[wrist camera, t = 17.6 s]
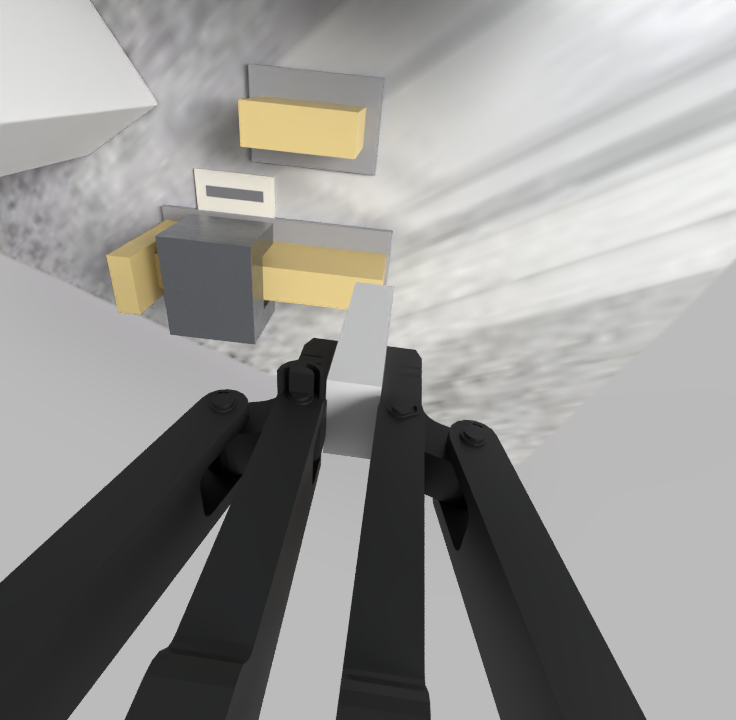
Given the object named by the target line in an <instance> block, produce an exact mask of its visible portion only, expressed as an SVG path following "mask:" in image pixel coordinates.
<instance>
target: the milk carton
mask: <svg viewBox="0 0 736 720" xmlns="http://www.w3.org/2000/svg"><path fill="white" fill-rule="evenodd" d="M155 106H157V102H156V100H155V98H154V97H153V95H152V94H151V92H150V91H149V89H148V88H147V86H146V85H145V83H144V81H143V80H142V78H141V77H140V75H139V74H138V72H137V71H136V69H135V68H134V66H133V65H132V63H131V62H130V60H129V59H128V57H127V56H126V54H125V53H124V51H123V50H122V48H121V47H120V45H119V44H118V42H117V41H116V39H115V38H114V36H113V35H112V33H111V32H110V30H109V29H108V27H107V26H106V24H105V23H104V21H103V20H102V18H101V17H100V15H99V14H98V12H97V11H96V9H95V8H94V6H93V5H92V3H91V2H90V0H0V177H1V176H6V175H10V174H14V173H18V172H22V171H26V170H30V169H34V168H38V167H42V166H46V165H50V164H54V163H58V162H63V161H67V160H71V159H75V158H79V157H83V156H87V155H90V154H91V153H92V152H94V151H95V150H96V149H98V148H99V147H101V146H102V145H103V144H105V143H106V142H107V141H109V140H110V139H112V138H113V137H114V136H116V135H117V134H118V133H120V132H121V131H122V130H124V129H125V128H127V127H128V126H129V125H131V124H132V123H133V122H135V121H136V120H138V119H139V118H140V117H142V116H143V115H144V114H146V113H147V112H149V111H150V110H151V109H153V108H154V107H155Z"/></svg>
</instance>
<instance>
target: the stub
mask: <svg viewBox="0 0 736 720" xmlns="http://www.w3.org/2000/svg"><path fill="white" fill-rule="evenodd" d="M248 74H249V98H246V99H239V100H238V108H239V129H240V147H248V148H251V152H252V162H261V163H270V164H279V165H288V166H297V167H306V168H315V169H324V170H333V171H342V172H351V173H360V174H369V175H375V172H376V161H377V150H378V140H379V129H380V118H381V107H382V97H383V86H384V78H375V77H366V76H356V75H347V74H338V73H328V72H319V71H310V70H300V69H291V68H281V67H272V66H263V65H253V64H248Z"/></svg>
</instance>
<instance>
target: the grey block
mask: <svg viewBox="0 0 736 720" xmlns="http://www.w3.org/2000/svg"><path fill="white" fill-rule="evenodd" d="M155 237H156V244H157V250H158V257H159V263H160V270H161V276H162V283H163V289H164V296H165V302H166V309H167V315H168V322H169V329H170V334H171V335H179V336H188V337H196V338H205V339H213V340H222V341H230V342H239V343H247V344H255V343H256V342H257V340H258V338H259V337H260V335H261V333H262V331H263V330H264V328H265V326H266V325H267V323H268V321H269V319H270V318H271V316H272V314H273V313H274V311H275V303H274V301H271V300H264V296H263V264H262V256H263V255H264V254H265V253H266V252H267V250H268V249H269V248H270V247H271V246H272V244H273V223H269V222H260V221H251V220H242V219H234V218H225V217H216V216H207V215H198V214H190V215H188V216H187V217H185V218H183V219H182V220H180V221H179V222H177V223H175V224H174V225H172V226H170V227H169V228H167V229H166V230H164V231H162V232H161V233H159V234H158V235H156V236H155Z"/></svg>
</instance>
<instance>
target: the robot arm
mask: <svg viewBox="0 0 736 720" xmlns="http://www.w3.org/2000/svg"><path fill="white" fill-rule="evenodd" d="M393 293H394V286H386V285H378V284H370V283H361V282H356V283H355V286H354V290H353V293H352V297H351V300H350V303H349V307H348V310H347V313H346V317H345V320H344V323H343V327H342V330H341V334H340V337H339V340H338V341H334V340H326V339H319V338H313V339H312V340H310V341H309V342H308V343H306V344H305V345H304V347H303V350H302V352H301V355H300V357H299V359H298V360H294V361H290V362H287V363H285V364H283V365H281V366H280V367H279V369H278V370H277V387H278V394H277V397H276V398H274V399H271V400H267V401H261V402H250V403H248V399H247V398H246V396H245V395H244V394H242V393H240V392H238V391H235V390H229V389H226V390H217V391H214V392H211V393H209V394H207V395H206V396H204V397H203V398H202V399H200V400H199V401H198V402H197V403H196V404H195V405H194V406H193V407H192V408H191V409H189V410H188V411H187V412H186V413H185V414H184V415H183V416H182V417H181V418H180V419H179V420H178V421H176V423H174V424H173V425H172V426H171V427H170V428H169V429H168V430H167V431H165V432H164V433H163V434H162V435H161V436H160V437H159V438H158V439H157V440H156V441H155V442H153V443H152V444H151V445H150V446H149V447H148V448H147V449H146V450H145V451H144V452H143V453H141V454H140V455H139V456H138V457H137V458H136V459H135V460H134V461H133V462H132V463H131V464H130V465H128V466H127V467H126V468H125V469H124V470H123V471H122V472H121V473H120V474H119V475H118V476H116V477H115V478H114V479H113V480H112V481H111V482H110V483H109V484H108V485H107V486H105V487H104V488H103V489H102V490H101V491H100V492H99V493H98V494H97V495H96V496H95V497H93V498H92V499H91V500H90V501H89V502H88V503H87V504H86V505H85V506H84V507H83V508H81V509H80V510H79V511H78V512H77V513H76V514H75V515H74V516H73V517H72V518H71V519H69V520H68V521H67V522H66V523H65V524H64V525H63V526H62V527H61V528H60V529H59V530H57V531H56V532H55V533H54V534H53V535H52V536H51V537H50V538H49V539H48V540H47V541H45V542H44V543H43V544H42V545H41V546H40V547H39V548H38V549H37V550H36V551H35V552H34V553H32V554H31V555H30V556H29V557H28V558H27V559H26V560H25V561H24V562H23V563H21V564H20V565H19V566H18V567H17V568H16V569H15V570H14V571H13V572H12V573H10V574H9V575H8V576H7V577H6V578H5V579H4V580H3V581H2V582H1V583H0V720H67V719H68V718H69V716H70V715H71V714H72V712H73V711H74V710H75V709H76V707H77V706H78V705H79V703H80V702H81V701H82V699H83V698H84V697H85V695H86V694H87V693H88V692H89V690H90V689H91V688H92V686H93V685H94V684H95V682H96V681H97V679H98V678H99V677H100V676H101V674H102V673H103V671H104V670H105V669H106V668H107V666H108V665H109V664H110V662H111V661H112V660H113V658H114V657H115V656H116V655H117V653H118V652H119V650H120V649H121V648H122V647H123V645H124V644H125V643H126V641H127V640H128V639H129V637H130V636H131V635H132V633H133V632H134V631H135V629H136V628H137V627H138V625H139V624H140V623H141V622H142V620H143V619H144V617H145V616H146V615H147V614H148V612H149V611H150V610H151V608H152V607H153V605H154V604H155V603H156V602H157V600H158V599H159V598H160V596H161V595H162V594H163V592H164V591H165V590H166V589H167V587H168V586H169V585H170V583H171V582H172V581H173V579H174V578H175V577H176V575H177V574H178V573H179V571H180V570H181V569H182V567H183V566H184V565H185V563H186V562H187V561H188V559H189V558H190V557H191V555H192V554H193V553H194V552H195V550H196V549H197V548H198V546H199V545H200V544H201V542H202V541H203V540H204V538H205V537H206V536H207V534H208V533H209V532H210V530H211V529H212V528H213V526H214V525H215V524H216V522H217V521H218V520H219V519H220V517H221V516H222V514H223V513H224V512H225V511H226V509H227V508H228V507H229V505H230V504H231V505H230V507H229V510H228V512H227V514H226V517H225V519H224V521H223V524H222V526H221V528H220V531H219V533H218V535H217V538H216V540H215V542H214V545H213V547H212V550H211V552H210V554H209V557H208V559H207V561H206V564H205V566H204V568H203V571H202V573H201V575H200V578H199V580H198V582H197V585H196V587H195V589H194V592H193V594H192V597H191V599H190V601H189V604H188V606H187V608H186V611H185V613H184V615H183V618H182V620H181V622H180V625H179V627H178V630H177V632H176V634H175V636H174V638H173V640H172V642H171V644H170V645H169V646H168V647H167V648H165V649H163V650H161V651H159V652H158V654H157V655H156V656H155V658H154V659H153V660H152V662H151V664H150V666H149V667H148V670H147V671H146V673H145V676H144V677H143V680H142V682H141V684H140V686H139V689H138V691H137V693H136V695H135V698H134V700H133V702H132V704H131V707H130V709H129V711H128V713H127V716H126V718H125V720H258V719H259V715H260V710H261V707H262V702H263V698H264V694H265V690H266V686H267V682H268V678H269V673H270V669H271V666H272V662H273V658H274V654H275V650H276V645H277V641H278V637H279V633H280V629H281V624H282V621H283V617H284V612H285V609H286V605H287V601H288V597H289V593H290V588H291V584H292V580H293V576H294V572H295V568H296V564H297V560H298V556H299V552H300V548H301V544H302V539H303V535H304V531H305V527H306V523H307V519H308V515H309V511H310V506H311V502H312V499H313V495H314V490H315V487H316V482H317V478H318V474H319V470H320V466H321V452H322V448H323V453H330V454H337V455H344V456H352V457H359V458H367V459H371V461H370V468H369V476H368V483H367V492H366V499H365V506H364V514H363V521H362V528H361V536H360V544H359V551H358V559H357V566H356V573H355V581H354V589H353V596H352V604H351V611H350V619H349V626H348V634H347V641H346V649H345V656H344V664H343V671H342V679H341V686H340V694H339V701H338V709H337V716H336V720H431V715H430V699H429V693H428V690H427V688H426V686H425V673H424V494H426V495H428V496H430V497H433V504H434V508H435V511H436V514H437V517H438V520H439V524H440V527H441V530H442V533H443V536H444V540H445V543H446V546H447V549H448V552H449V556H450V559H451V562H452V565H453V569H454V572H455V575H456V578H457V581H458V585H459V588H460V590H461V594H462V597H463V601H464V604H465V607H466V610H467V614H468V617H469V620H470V623H471V626H472V630H473V633H474V636H475V639H476V642H477V645H478V649H479V652H480V655H481V658H482V662H483V665H484V668H485V671H486V674H487V678H488V681H489V684H490V687H491V691H492V694H493V697H494V700H495V703H496V707H497V710H498V713H499V716H500V719H501V720H646V718H645V716H644V714H643V712H642V710H641V708H640V706H639V704H638V703H637V701H636V699H635V697H634V695H633V693H632V691H631V689H630V687H629V685H628V684H627V682H626V680H625V678H624V676H623V674H622V672H621V670H620V669H619V667H618V665H617V663H616V661H615V659H614V657H613V655H612V653H611V651H610V649H609V648H608V646H607V644H606V642H605V640H604V638H603V636H602V634H601V632H600V630H599V629H598V627H597V625H596V623H595V621H594V619H593V617H592V615H591V613H590V612H589V610H588V608H587V606H586V604H585V602H584V600H583V598H582V596H581V594H580V593H579V591H578V589H577V587H576V585H575V583H574V582H573V579H572V577H571V576H570V574H569V572H568V570H567V568H566V566H565V564H564V563H563V560H562V558H561V557H560V555H559V553H558V551H557V549H556V547H555V545H554V543H553V541H552V539H551V538H550V536H549V534H548V532H547V530H546V528H545V526H544V524H543V522H542V521H541V519H540V517H539V515H538V513H537V511H536V509H535V507H534V505H533V504H532V502H531V500H530V498H529V496H528V494H527V492H526V490H525V488H524V486H523V485H522V483H521V481H520V479H519V477H518V475H517V473H516V471H515V469H514V467H513V465H512V464H511V462H510V460H509V458H508V456H507V454H506V452H505V450H504V448H503V447H502V445H501V443H500V441H499V439H498V437H497V435H496V434H495V433H494V432H493V430H492V429H491V428H489V427H488V426H486V425H485V424H482V423H479V422H477V421H471V420H462V421H457V422H456V423H454V424H452V425H451V427H447V426H444V425H442V424H439V423H437V422H435V421H434V420H432V419H431V418H429V417H428V416H427V415H426V414H425V412H424V410H423V407H422V378H421V376H422V370H421V369H422V359H421V357H420V356H419V354H418V353H417V351H416V350H412V349H405V348H397V347H389V346H387V341H388V333H389V325H390V317H391V309H392V301H393Z"/></svg>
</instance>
